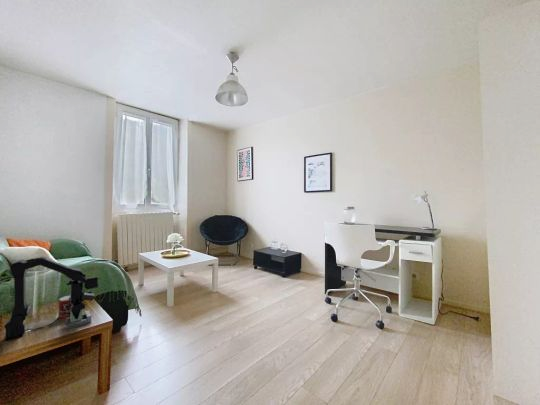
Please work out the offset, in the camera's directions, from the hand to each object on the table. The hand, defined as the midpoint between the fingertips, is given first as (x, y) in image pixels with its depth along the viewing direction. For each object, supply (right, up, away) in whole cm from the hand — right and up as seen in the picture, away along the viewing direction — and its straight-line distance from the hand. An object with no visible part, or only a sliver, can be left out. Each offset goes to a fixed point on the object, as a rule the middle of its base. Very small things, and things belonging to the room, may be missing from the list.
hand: (76, 317), depth 140 cm
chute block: (0, -2, 0) cm, 2 cm away
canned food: (-13, -3, +9) cm, 17 cm away
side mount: (0, -4, 0) cm, 4 cm away
